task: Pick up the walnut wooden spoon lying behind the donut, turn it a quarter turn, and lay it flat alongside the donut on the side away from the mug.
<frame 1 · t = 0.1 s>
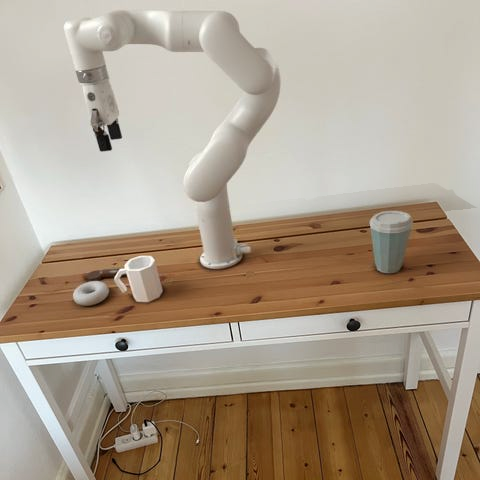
hand: (111, 144, 142), 37 cm above the table, tool pointing down, fingers open, 9 cm apart
disposable coffee cup: (389, 268, 143), on the table
donut: (92, 298, 151), on the table
spoon: (110, 276, 160), on the table
mug: (141, 295, 149), on the table
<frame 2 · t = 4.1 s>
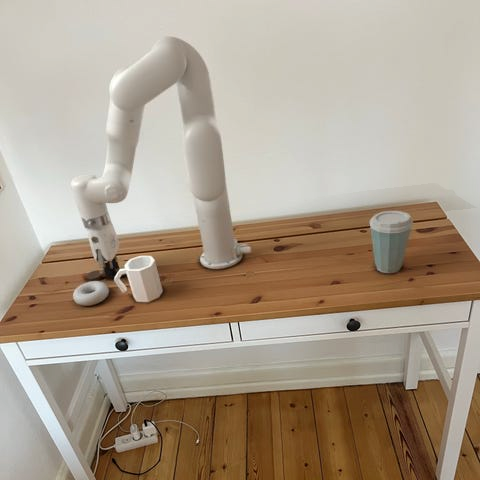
hand: (113, 275, 160), 0 cm above the table, tool pointing down, fingers closed on spoon, 2 cm apart
spoon: (110, 276, 160), on the table, touching gripper
everything else where it was.
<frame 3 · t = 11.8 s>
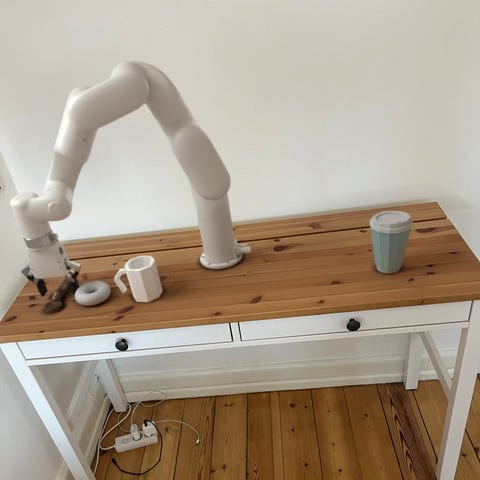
hand: (60, 292, 153), 1 cm above the table, tool pointing down, fingers open, 9 cm apart
donut: (94, 298, 151), on the table, touching gripper
spoon: (60, 298, 153), on the table
everything else where it was.
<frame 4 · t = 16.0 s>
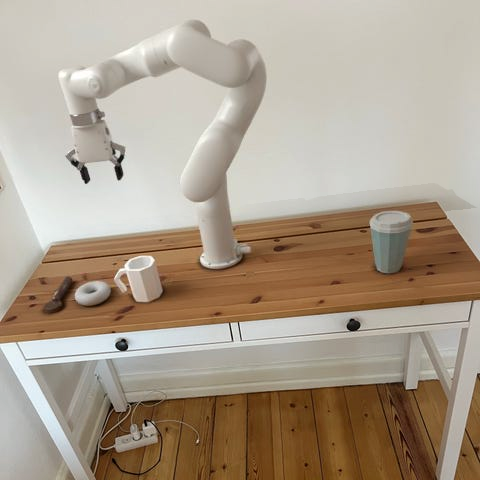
hand: (104, 180, 151), 26 cm above the table, tool pointing down, fingers open, 9 cm apart
donut: (94, 298, 151), on the table
everything else where it was.
at the end: spoon inside the target area (0.4 cm from its centre), on the table; spoon 10.7 cm from the donut (horizontally); spoon tilted 0° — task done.
